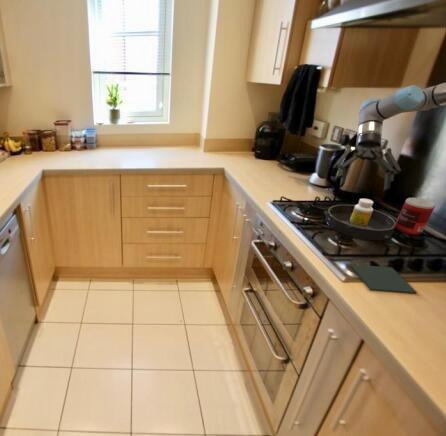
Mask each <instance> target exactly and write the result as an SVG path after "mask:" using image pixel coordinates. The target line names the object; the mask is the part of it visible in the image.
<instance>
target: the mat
mask: <svg viewBox="0 0 446 436" xmlns="http://www.w3.org/2000/svg"><path fill="white" fill-rule="evenodd" d="M350 267H351V269H352V270H353V271H354V272H355V274H356V275H357V276H358V277H359V278H360V280H361V281H362V282H363V284H364V285H365V286H366V287H367V288H368V290H369V291H376V292H386V293H387V292H388V293H400V294H410V295H411V294H414V295H416V294H417V291H416V290H415V289H414V288H413V287H412V286H411V284H409V283H408V282H407V281H406V280H405V279H404V278H403V277H402V276H401V275H400V273H398V271H396V270H395V269H394V268H393V267H392V266H391V267H390V266H376V265H364V264H350Z"/></svg>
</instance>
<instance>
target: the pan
mask: <svg viewBox="0 0 446 436" xmlns="http://www.w3.org/2000/svg"><path fill="white" fill-rule="evenodd" d="M355 205H356V204H336V205H332V206H330V207H328V209H327V212H326V214H325V217H324V218H325V219H324V221H325V223H326V225H327V226H328V227H329V228H331V229H332V230H333V231H335V232H338V233H340V234H342V235H344V236H348V237H351V238H354V239H359V240H364V241H374V242H375V241H386V240H388V239H390V238H391V237H392V236H393V235H394V232H395V230H396V228H395V227H396V220H395V219H394V218H392V217H391V216H390V215H388V214H386V213H385V212H382V211H379V210H376V209H374V208H373V212H372V214H371V217H370V219H369V222H368V224H367V226H366V227H365V228H361V227H356V226H353V225H350V224H349V221H350V218H351V215H352V213H353V210H354V207H355Z"/></svg>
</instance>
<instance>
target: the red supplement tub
mask: <svg viewBox="0 0 446 436" xmlns="http://www.w3.org/2000/svg"><path fill="white" fill-rule="evenodd" d="M435 207H436V204H435V203H434V202H432V201H431V200H429V199H425V198H421V197H420V198H419V197H408V198H406V199H405V201H404V203H403V205H402V208H401V210H400V212H399V215H398V217H397V219H396V220H395V222H396V227H395V230H397V231H398V232H400V233H403V234H406V235H409V236H410V235H411V236H419V235H421V234H422V233H423V232H424V230H425V228H426V227H427V226H426V225H428V222H429V220H430V218H431V216H432V214H433V212H434V210H435Z"/></svg>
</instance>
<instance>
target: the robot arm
mask: <svg viewBox="0 0 446 436" xmlns="http://www.w3.org/2000/svg"><path fill="white" fill-rule="evenodd" d="M443 106H446V82H442V83H439V84H437V85H433V86H429V87H427V88H422V89H421V88H420V87H419V86H417V85H414V84H411V85H408V86H406V87H404V88H400V89H399V90H397V91H395V92H394V93H392V94H389V95H388V96H386V97H384V98H379V97H374V98H371V99H366V100H365V101H363V102H362V103H361V105H360V108H359V112H358V123H357V124H358V125H357V131H356V132H357V134H356V142H355V146H352V145H351V144H348V145H347V146H346V148H345V150H344V153H343V154H342V155H341V156H340V157H339V158H338V160H337V161H336V162H335V163H334V165H333V169H337V172H338V174H337V177H338V178H340V183H339V187H343V186H344V185H345V183H346V176H347V167H348V166H349V165H351V164H352V163H353V162H355V161H357V160H358V159H359V160H365V161H366V160H367V161H373V162H374V163H376V164H377V165H378V166H379V167H380V168H381V169H382V170H383V171H384V172H385V173H386V174H385V175H384V181H383V182H384V183H383V192H388V191H389V190H390V189H391V184H392V182H394V179H395V175H398V174H400V172H401V171H402V168H401V167H400V165H399V163H398V162H397V160H396V158H395V156H394V155H393V153H392V148H391V147H387V149H382V135H383V126H384V121H386V120H388V119H390V118H392V117H395V116H397V115H400V114H403V113H404V114H405V113H414V112H426V111H430V110H429V109H431V108H434V109H436V108H438V107H443ZM435 107H436V108H435ZM431 110H432V109H431ZM352 152H354V155H353V156H352V157H350V158H349V159H348V160H346V161H345V162H343V161H344V160H345V158H346V157H347V156H348V155H349V154H350V153H351V154H352ZM381 154H382V155H381ZM383 156H384V158H385V159H384V158H383ZM342 162H343V163H342Z"/></svg>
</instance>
